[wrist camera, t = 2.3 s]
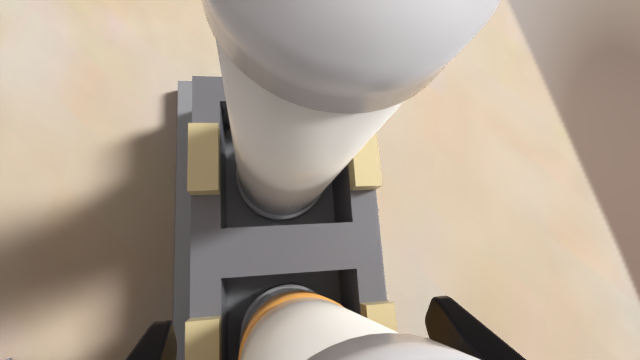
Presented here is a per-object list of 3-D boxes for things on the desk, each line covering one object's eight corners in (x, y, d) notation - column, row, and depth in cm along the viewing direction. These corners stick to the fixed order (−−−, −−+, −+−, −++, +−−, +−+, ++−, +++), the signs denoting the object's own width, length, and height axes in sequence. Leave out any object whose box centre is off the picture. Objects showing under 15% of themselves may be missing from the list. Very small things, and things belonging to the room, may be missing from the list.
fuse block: (393, 434, 16) (448, 499, 11) (174, 469, 14) (138, 561, 10) (361, 92, 19) (393, 41, 15) (181, 88, 18) (157, 30, 13)
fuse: (337, 191, 17) (567, -22, 5) (268, 238, 16) (322, 132, 3) (290, 125, 17) (385, -238, 5) (220, 167, 16) (112, -159, 4)
